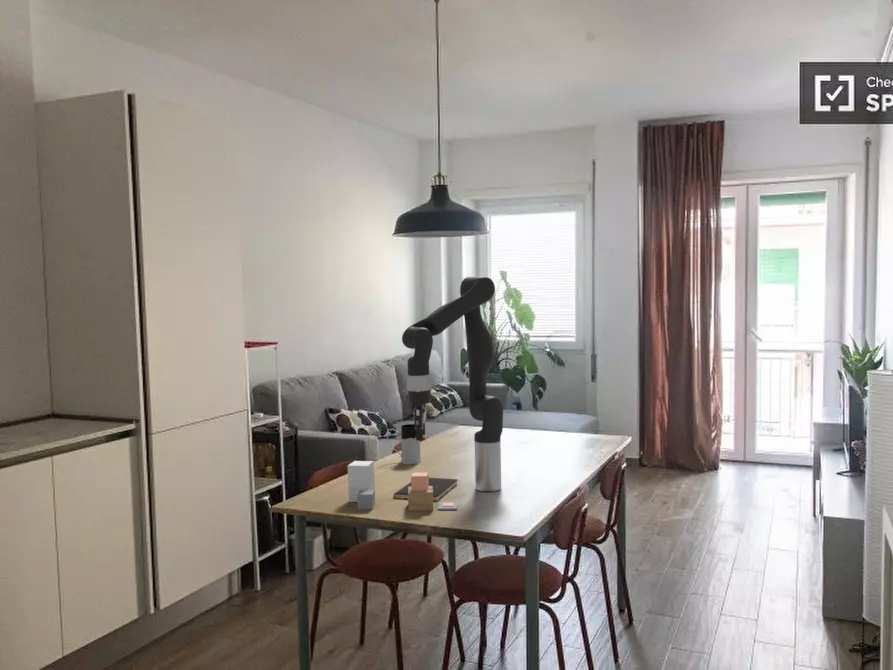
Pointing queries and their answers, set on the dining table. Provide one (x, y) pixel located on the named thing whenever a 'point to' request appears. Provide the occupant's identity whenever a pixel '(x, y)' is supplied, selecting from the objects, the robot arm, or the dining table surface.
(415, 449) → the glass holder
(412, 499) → the walnut base block
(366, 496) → the grey cube
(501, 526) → the dining table surface
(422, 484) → the terracotta block
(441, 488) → the hardcover book
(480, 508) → the dining table surface
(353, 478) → the supplement box
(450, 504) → the card
